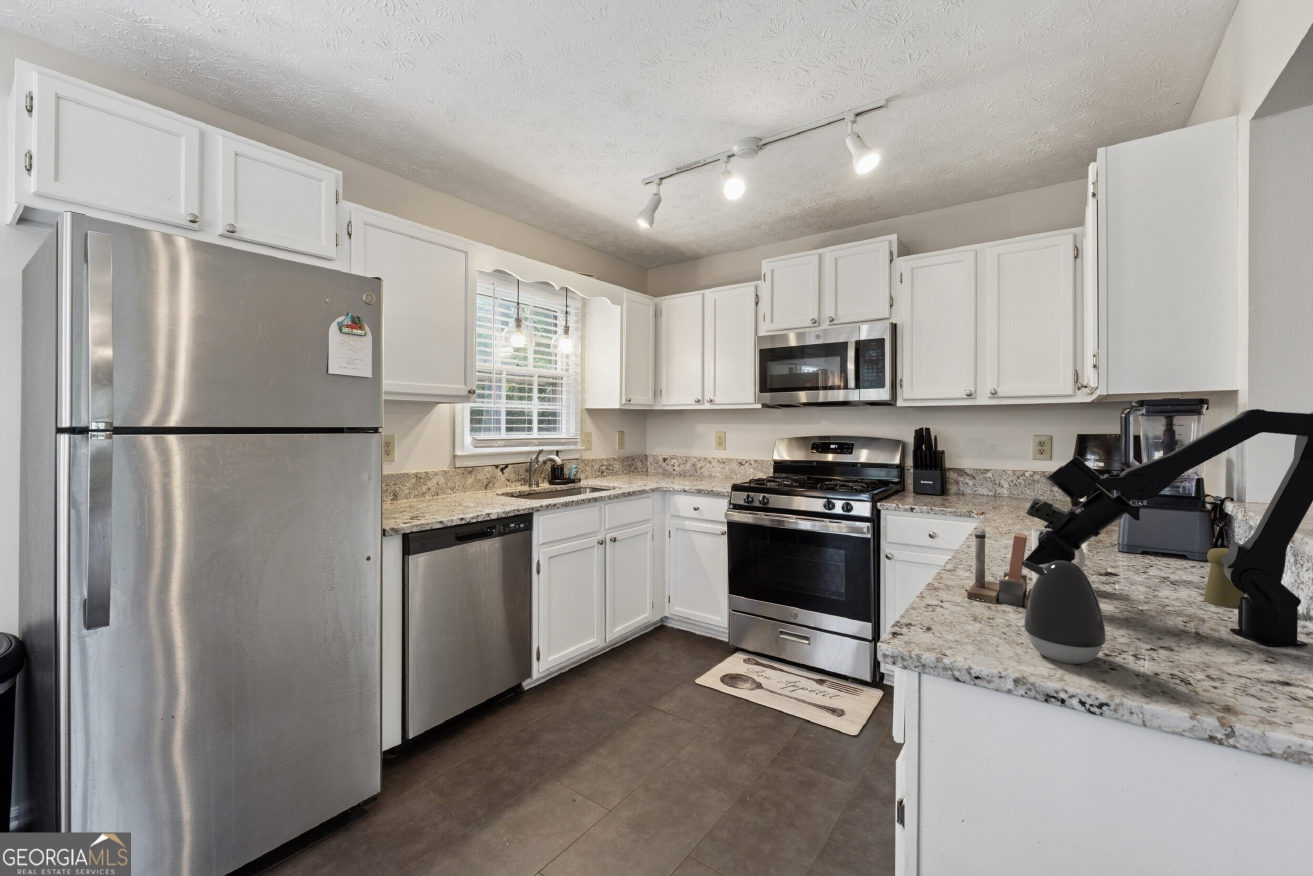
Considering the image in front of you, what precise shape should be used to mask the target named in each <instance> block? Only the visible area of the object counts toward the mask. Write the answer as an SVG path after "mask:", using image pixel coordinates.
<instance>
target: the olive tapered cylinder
mask: <svg viewBox="0 0 1313 876" xmlns="http://www.w3.org/2000/svg"><path fill="white" fill-rule="evenodd" d="M1228 551H1229V548H1226V547H1218V548H1217V547H1216V548H1214V547H1213V548H1211V549H1209V550H1208V551H1207V555H1206V557H1207V561H1208V562H1209V563H1210V567H1209V573H1208V577H1207V582H1206V588H1205V591H1204V598H1203V602H1204V603H1206V602H1207V603H1206V604H1209V605H1212V604H1214V605H1213V606H1216V607H1222V608H1225V609H1227V608H1229V609H1237V610H1238V605H1239V604H1240V597H1246V595H1244V594H1243V592H1241V591H1239V590H1238V589H1237V588H1236V587H1235V586H1234V585H1233V584H1232V583H1231V582H1230V580H1229V579H1228V578H1227V576H1226V575H1225V573H1224V565H1225V564H1224V563H1223V562H1222V561H1221V559H1222V558H1223V557H1225V556H1226V555H1227V553H1228Z"/></svg>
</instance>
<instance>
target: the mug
mask: <svg viewBox="0 0 1313 876" xmlns="http://www.w3.org/2000/svg"><path fill="white" fill-rule="evenodd" d="M1047 530H1049V529H1048V528H1047V529H1045V528H1034V529H1031V552H1032V551H1033V550H1034V549H1035V548H1036V547H1037V545H1038V536H1039V534H1040V532H1041V531H1042V532H1045V531H1047ZM1076 552H1077V554H1078V563H1077V565H1078V566H1079V567H1080V568H1081V569H1082V570H1083V568H1084V566H1085V563H1086V553H1085V551H1084V548H1083V547H1082V545H1081V548H1079V549H1078V550H1077V551H1076ZM1048 564H1049V563H1048ZM1048 564H1043V565H1039V566H1041V567H1046V566H1047V565H1048ZM1031 572H1032V583H1033V584H1034V583H1035V581H1036V580H1037V578H1038V576H1039V575H1038V574H1036V573H1035V572H1033V571H1031Z"/></svg>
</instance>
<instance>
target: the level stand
mask: <svg viewBox="0 0 1313 876" xmlns="http://www.w3.org/2000/svg"><path fill="white" fill-rule="evenodd" d="M974 531H975V533H974V539H975V542H974V543H975V545H974V546H975V549H974V550H975V551H974V553H975V555H974V556H975V557H974V558H975V559H974V560H975V562H974V565H975V567H974V568H975V569H974V570H975V572H974V573H975V576H974V578H975V580H974V581H975V582H973V583H972V585H971V586H970V588H969V589H968V590H967V598H974V599H979V600H984V601H989V602H988V603H990V602H996V603H997V601H998V602H999V603H1001V602H1004V603H1003V604H1007V603H1010V604H1009V605H1013V604H1016V605H1015V606H1019V607H1023V605H1024V609H1026V608H1027V603H1028V599H1029V596H1030V593H1031V590H1032V588H1033V587H1029V590H1028V589H1027V588H1028V575H1027V574H1024V573H1022V575H1021V578H1022V579H1023V580H1024V582H1025V585H1026V588H1025V591H1024V593H1023V582H1019V581H1012V580H1005V578H1006V577H1007V576H1008V575H1009V571H1004V572H1003V578H999V580H998V582H994V581H987V580H986V538H987V537H986V536H987V534H986V531H985V530H980V529H979V530H977V529H976V530H974ZM1024 598H1025V599H1024ZM997 599H998V600H997ZM984 601H983V602H984Z"/></svg>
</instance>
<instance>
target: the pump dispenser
mask: <svg viewBox="0 0 1313 876" xmlns="http://www.w3.org/2000/svg"><path fill="white" fill-rule="evenodd" d="M1023 567H1024V568H1025V569H1028V570H1030V571H1031V572H1032V571H1033V572H1035V573H1036V574H1038V575H1039V576H1038V578H1037V580H1036V581H1035V583H1033V586H1032V587H1031V588H1032V590H1031V593H1030V596H1029V599H1028V603H1027V608H1025V614H1024V625H1023V626H1024V630H1025V631H1026V633H1027V637H1028V640H1029V641H1030V643H1031V644H1032V646H1033V647H1034V649H1035V650H1036V651H1037V652H1039V653H1040V654H1041V655H1042V656H1044V657H1046V658H1048V659H1050V660H1052V659H1053V661H1055V660H1056V661H1055V662H1059V661H1060V662H1059V663H1063V662H1065V663H1064V664H1069V663H1074V664H1073V665H1075V664H1076V665H1079V663H1080V664H1084V663H1086V664H1087V663H1088V662H1091V661H1093V660H1094V659H1095V658H1096V657H1097V656H1098V655H1099V654H1100V652H1101V650H1102V646H1103V645H1105V643H1106V629H1105V622H1104V618H1103V612H1102V609H1101V608H1102V607H1101V605H1100V602H1099V599H1098V597H1097V593H1096V592H1095V588H1094V587H1093V585H1092V582H1091V581H1090V579H1089V577H1088V576H1087V574H1086V572H1085V571H1084V570H1083V568H1082V569H1081V568H1080V567H1079V566H1078V564H1076V563H1074V562H1073V561H1071V562H1069V561H1065V560H1057V561H1053V562H1051V563H1049V564H1048V565H1047V566H1046V567H1041V566H1039V565H1036V564H1033V563H1031V562H1028V561H1025V562H1024V564H1023Z"/></svg>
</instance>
